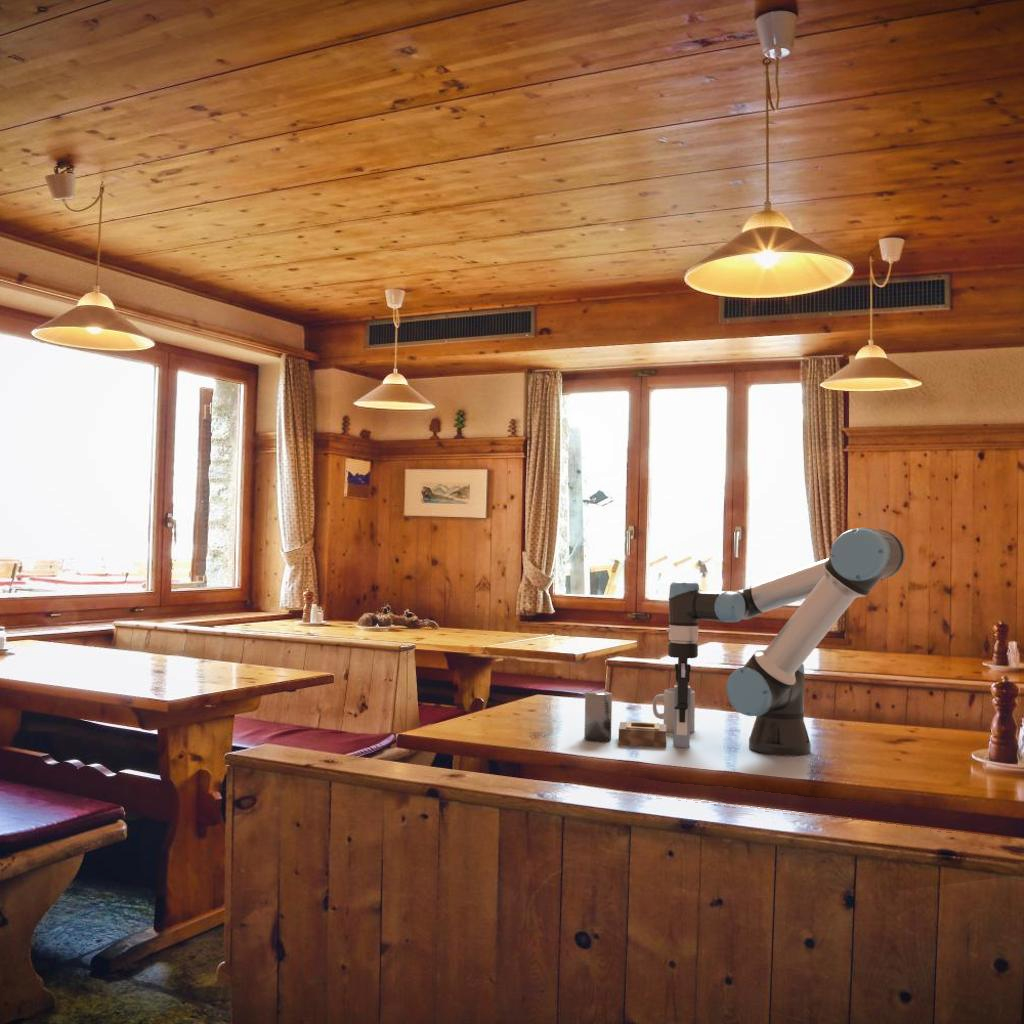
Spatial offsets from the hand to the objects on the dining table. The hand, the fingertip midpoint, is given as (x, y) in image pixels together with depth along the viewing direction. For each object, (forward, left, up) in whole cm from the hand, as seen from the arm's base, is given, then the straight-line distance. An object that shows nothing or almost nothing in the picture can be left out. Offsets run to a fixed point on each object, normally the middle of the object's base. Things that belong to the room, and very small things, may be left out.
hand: (681, 732), depth 245 cm
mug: (+20, -9, -3) cm, 22 cm away
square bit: (0, 0, -3) cm, 3 cm away
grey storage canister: (+12, +18, -3) cm, 22 cm away
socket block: (+6, +8, -3) cm, 10 cm away
